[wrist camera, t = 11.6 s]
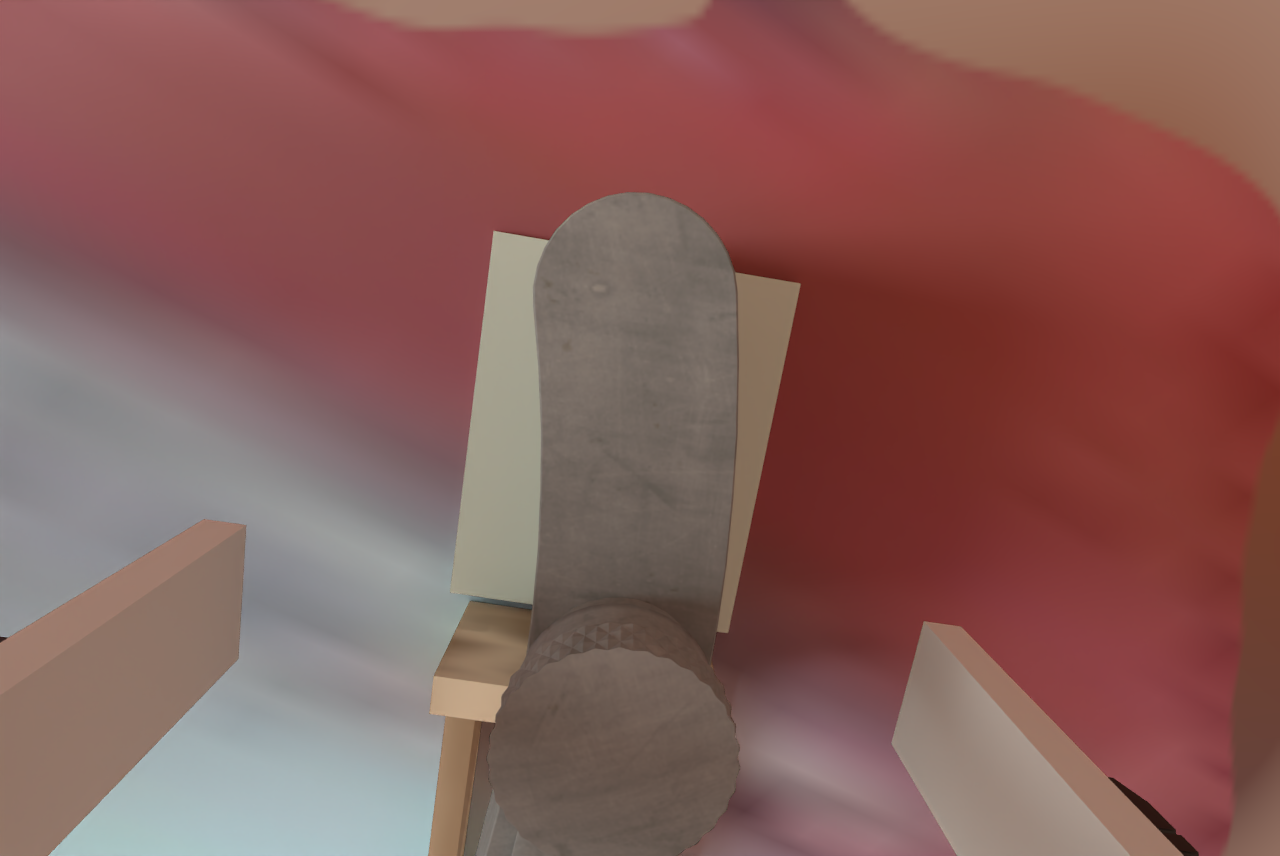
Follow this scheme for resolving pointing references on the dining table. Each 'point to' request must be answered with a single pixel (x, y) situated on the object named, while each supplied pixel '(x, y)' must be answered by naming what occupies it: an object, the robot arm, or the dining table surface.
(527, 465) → the mat
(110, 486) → the dining table surface
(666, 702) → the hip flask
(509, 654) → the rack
